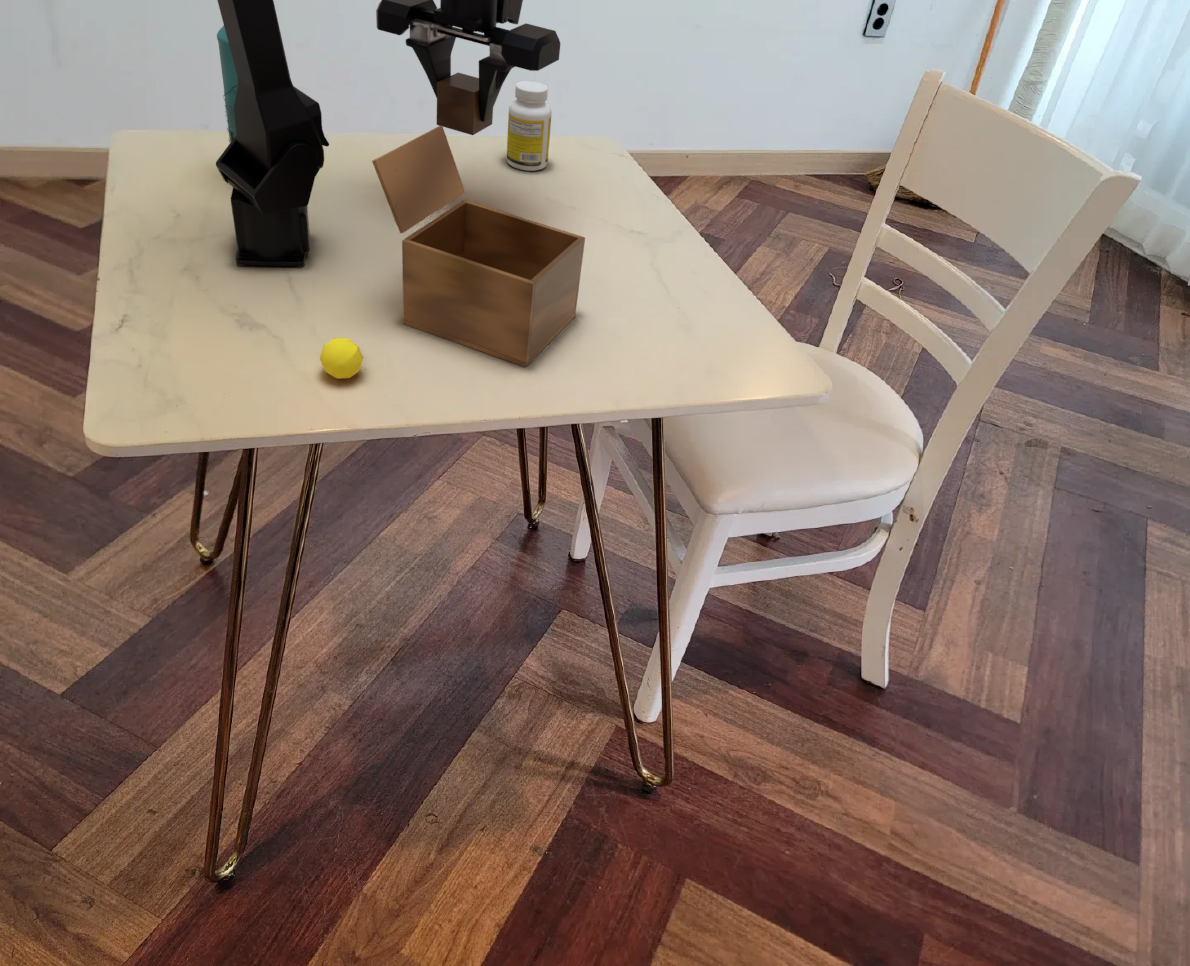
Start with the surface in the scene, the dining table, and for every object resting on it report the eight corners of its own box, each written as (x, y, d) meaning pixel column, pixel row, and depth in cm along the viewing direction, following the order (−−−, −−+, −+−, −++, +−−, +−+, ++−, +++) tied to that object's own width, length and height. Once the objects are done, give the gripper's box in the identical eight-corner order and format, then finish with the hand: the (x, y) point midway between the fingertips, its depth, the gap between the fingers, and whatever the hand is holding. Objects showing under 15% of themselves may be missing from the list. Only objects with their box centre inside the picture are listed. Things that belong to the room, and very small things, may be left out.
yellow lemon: (330, 390, 76) (313, 351, 74) (330, 368, 81) (314, 331, 79) (369, 377, 76) (353, 338, 74) (366, 356, 81) (351, 319, 80)
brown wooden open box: (403, 323, 85) (401, 240, 80) (461, 277, 93) (464, 199, 88) (525, 367, 82) (533, 283, 77) (575, 316, 90) (585, 237, 85)
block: (436, 124, 98) (436, 81, 95) (456, 114, 101) (458, 72, 98) (472, 135, 97) (474, 92, 94) (492, 124, 100) (494, 82, 97)
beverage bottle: (221, 177, 104) (193, -16, 91) (266, 162, 108) (245, -23, 95) (262, 195, 101) (239, 0, 89) (306, 179, 106) (290, -8, 93)
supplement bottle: (524, 152, 121) (530, 76, 114) (555, 165, 119) (563, 88, 112) (497, 161, 117) (501, 83, 111) (528, 175, 115) (534, 96, 109)
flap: (403, 232, 79) (399, 233, 79) (465, 192, 87) (462, 193, 87) (375, 160, 76) (371, 161, 76) (442, 125, 84) (438, 125, 84)
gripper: (589, -38, 92) (572, 117, 102) (430, -75, 96) (428, 77, 106) (543, -21, 84) (529, 145, 94) (371, -63, 88) (375, 101, 98)
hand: (465, 115), depth 98 cm, fingers closed on block, 4 cm apart
